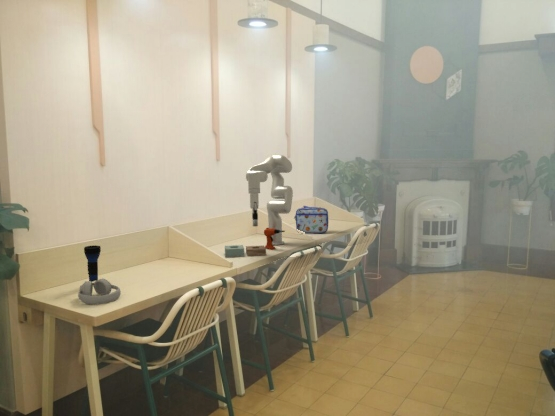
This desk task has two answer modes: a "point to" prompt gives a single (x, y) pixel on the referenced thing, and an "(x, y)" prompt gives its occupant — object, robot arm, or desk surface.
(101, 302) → the headphones
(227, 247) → the rack holder
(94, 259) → the flashlight
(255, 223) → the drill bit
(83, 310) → the desk surface
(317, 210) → the lunch box
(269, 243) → the toy drill
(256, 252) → the socket block
